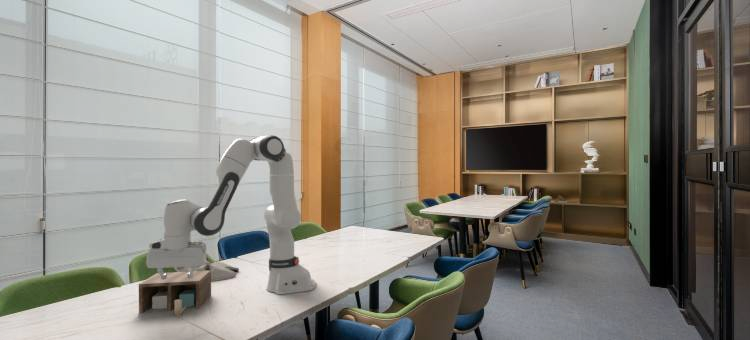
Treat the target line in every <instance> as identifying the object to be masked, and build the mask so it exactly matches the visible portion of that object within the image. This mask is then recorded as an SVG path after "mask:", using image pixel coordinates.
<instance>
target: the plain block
mask: <svg viewBox="0 0 750 340" xmlns="http://www.w3.org/2000/svg"><path fill="white" fill-rule="evenodd" d="M151 308H152V309H153V310H155V309H156V310H158V309H168V291H164V292H158V293H157V294H155V295H154V296H153V297H152V306H151Z"/></svg>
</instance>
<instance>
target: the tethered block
mask: <svg viewBox="0 0 750 340" xmlns="http://www.w3.org/2000/svg"><path fill="white" fill-rule="evenodd" d="M194 306H196V289H192V290H184V291H183V292H182V293H181V294H180V295H179V299H177V300H175V307H174V316H175V317H179V316H182V315H183V312H184V311H185V310H186V308H189V307H194Z"/></svg>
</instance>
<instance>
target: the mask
mask: <svg viewBox="0 0 750 340" xmlns="http://www.w3.org/2000/svg"><path fill="white" fill-rule="evenodd" d="M173 269H174V270H175V272H189V271H192V269H191V267H173ZM208 270H211V283H213V282H219V281H225V280H229V279H233V278H235V277H237V272H239V271H240V268H239V267H235V266H232V265H229V264H227V263H224V262H220V261H214V262H211V261H209V260H206V263H205V264H204V265H203V266H196V269H195V271H208ZM235 270H236V271H237V272H236V271H235Z"/></svg>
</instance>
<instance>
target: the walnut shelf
mask: <svg viewBox="0 0 750 340" xmlns="http://www.w3.org/2000/svg"><path fill="white" fill-rule="evenodd" d="M190 272H191V271H189V272H177V271H173V272H171V271H170V272H164V273H165V274H167V278H166V279H160V278H161V275H160V274H159V273H158V272H156V273H154V274H153V275H151V276H150V277H148V278H147V279H144V280H143V281H141V282H140V283H138V313H139V314H142V313H144V312H145V311H146V310H148V309H149V308H150V307H152V306H151V305H152V297H153V296H154V295H155V294H157V293H158V292H164V291H168V308H167V311H168V312H171V311H172V310H174V309H175V300H177V299H179V295H180V294H181V293H182V292H183V291H184V290H192V289H196V304H195V309H196V310H200V309H201V308H202V307H203V305H204V304H205V303H206V302H207V301H208V300H209V299H210V298H211V296H212V282H211V270H208V271H194V272H193V278H187V277H188V276H187V274H188V273H190Z"/></svg>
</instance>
